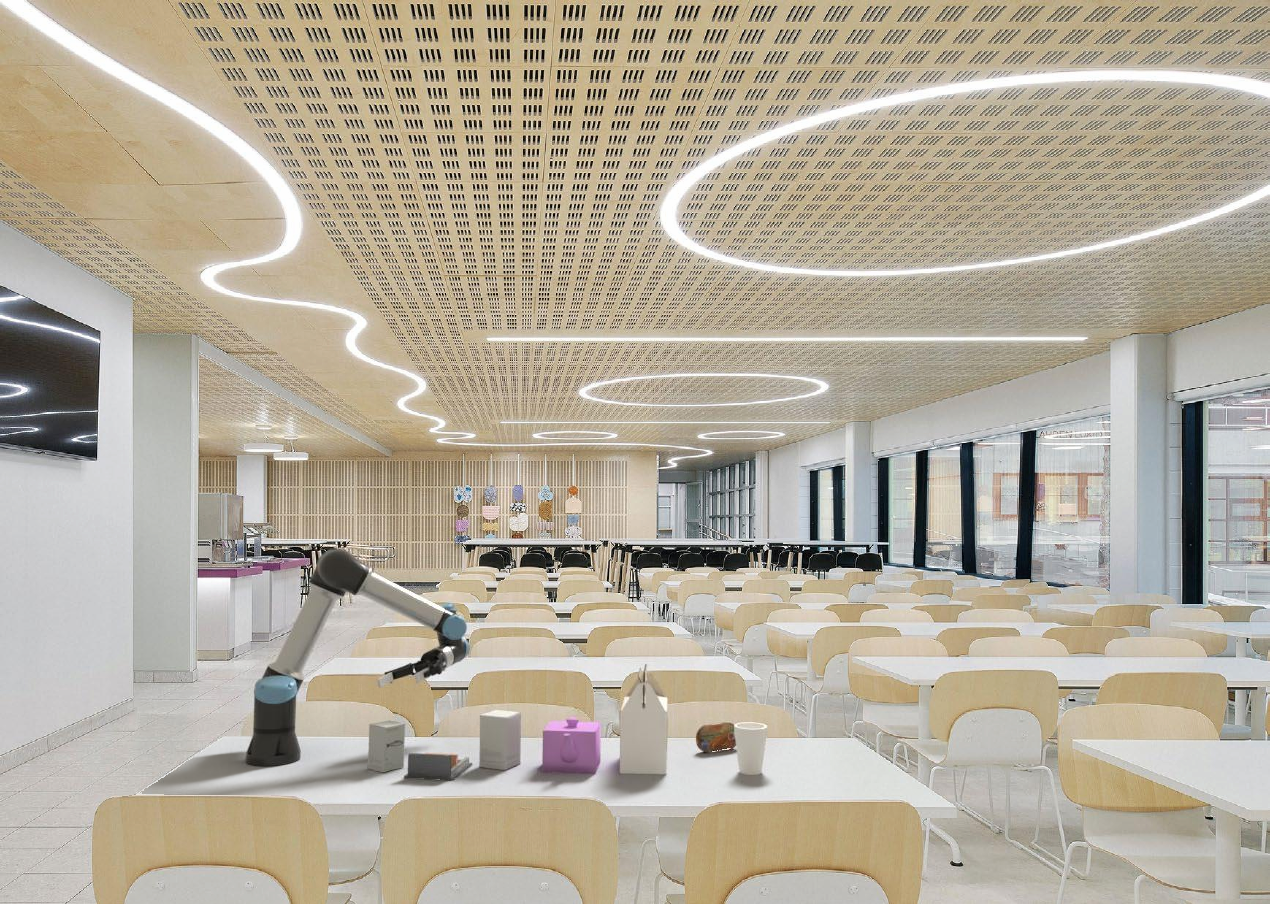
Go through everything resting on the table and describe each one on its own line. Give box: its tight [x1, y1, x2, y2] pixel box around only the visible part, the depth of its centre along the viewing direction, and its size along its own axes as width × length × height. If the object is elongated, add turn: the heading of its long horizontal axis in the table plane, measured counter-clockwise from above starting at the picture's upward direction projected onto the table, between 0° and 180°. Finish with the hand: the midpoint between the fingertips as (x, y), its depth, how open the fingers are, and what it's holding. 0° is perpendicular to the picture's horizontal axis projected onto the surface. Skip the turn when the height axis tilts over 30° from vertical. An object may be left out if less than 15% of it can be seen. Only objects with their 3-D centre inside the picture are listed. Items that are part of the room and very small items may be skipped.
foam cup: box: [734, 721, 768, 776], centre depth 279 cm, size 10×9×13 cm
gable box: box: [619, 663, 669, 776], centre depth 287 cm, size 22×13×28 cm, turn 178°
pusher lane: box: [403, 752, 473, 781], centre depth 276 cm, size 14×17×7 cm
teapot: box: [541, 717, 602, 775], centre depth 281 cm, size 15×25×14 cm, turn 176°
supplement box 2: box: [478, 709, 522, 771], centre depth 283 cm, size 9×9×15 cm
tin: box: [695, 722, 736, 754], centre depth 304 cm, size 15×3×8 cm, turn 120°
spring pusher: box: [424, 752, 459, 768], centre depth 277 cm, size 9×1×4 cm, turn 82°
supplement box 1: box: [367, 720, 406, 773], centre depth 279 cm, size 7×7×13 cm
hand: (397, 681), depth 291 cm, fingers open, 13 cm apart
